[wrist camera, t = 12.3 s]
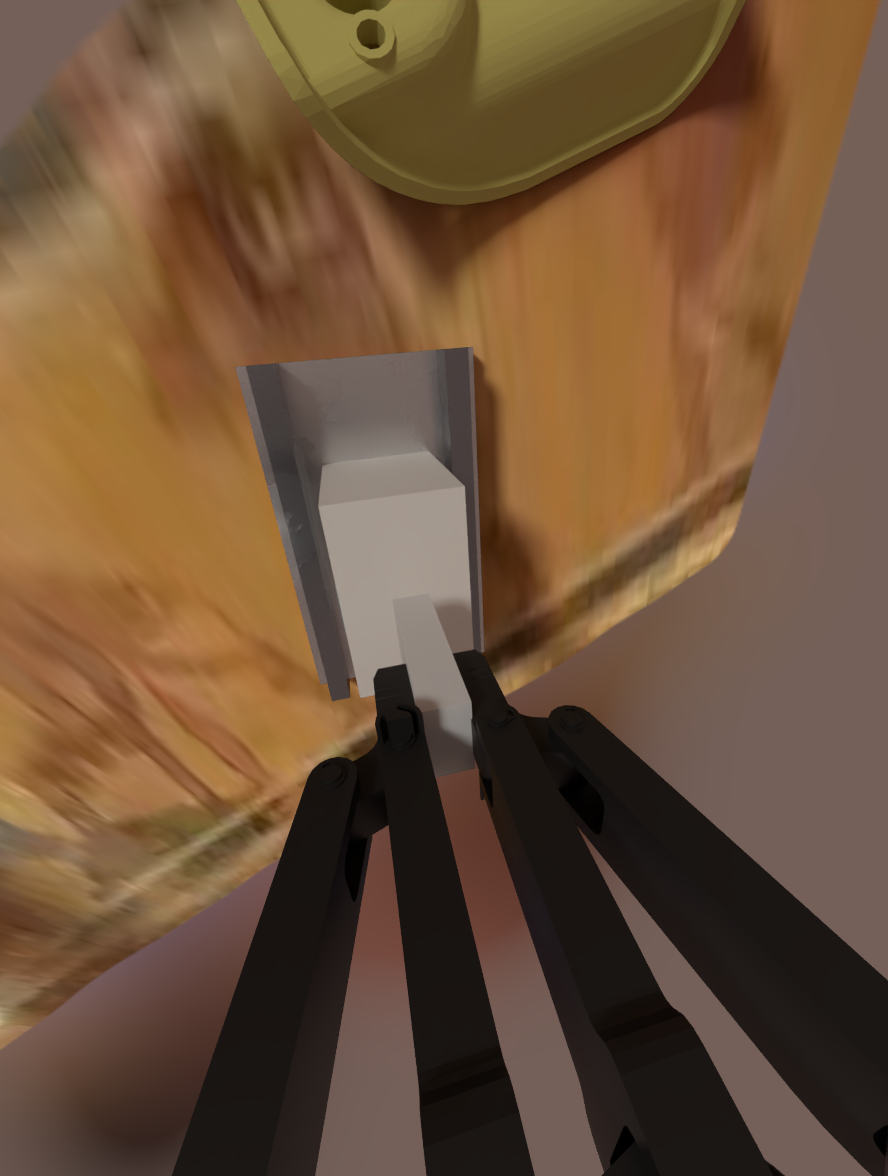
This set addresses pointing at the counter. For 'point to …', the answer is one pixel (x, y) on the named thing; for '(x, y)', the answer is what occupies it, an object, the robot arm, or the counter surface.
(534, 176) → the plastic component
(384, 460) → the block
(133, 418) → the counter surface
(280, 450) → the grey channel bracket
